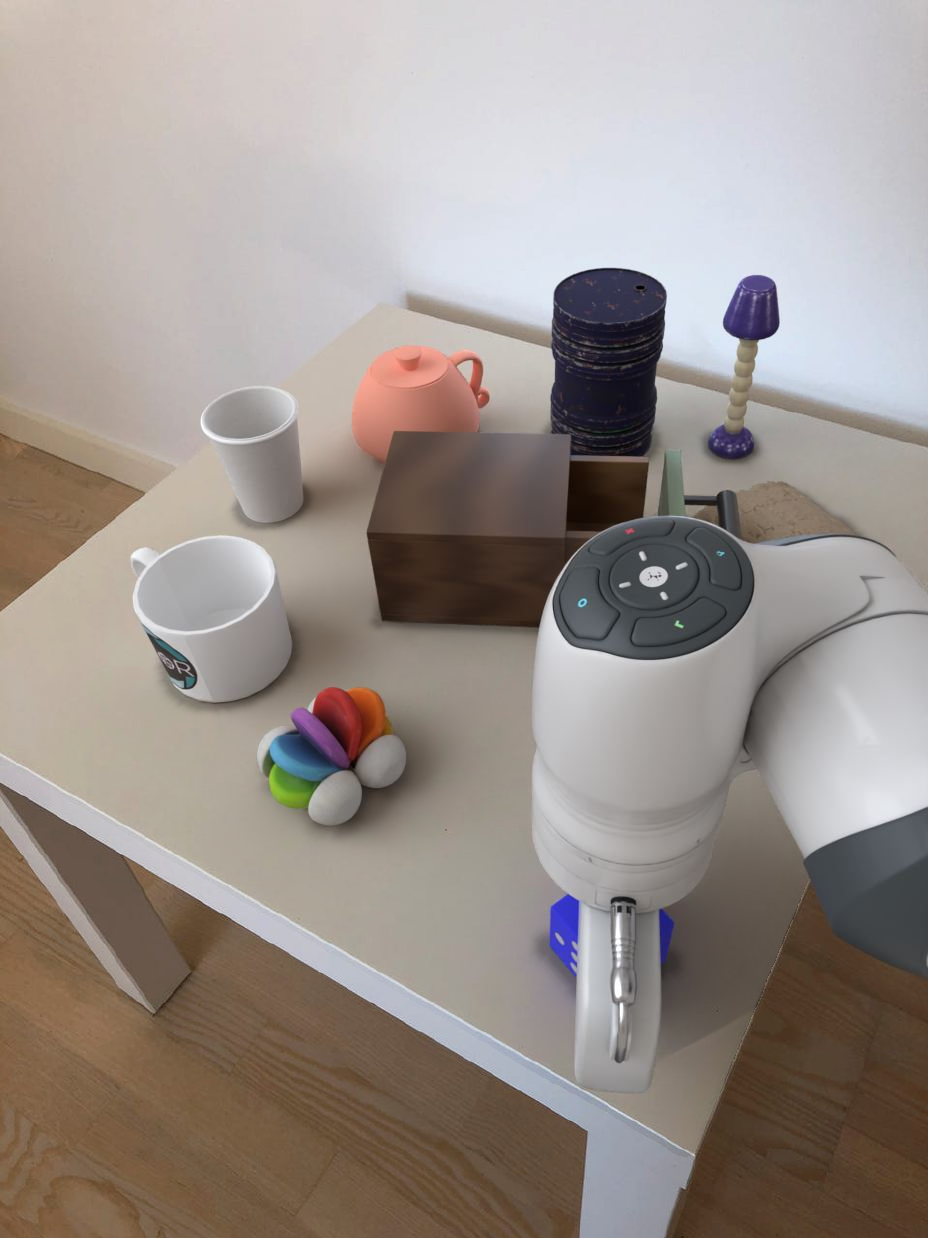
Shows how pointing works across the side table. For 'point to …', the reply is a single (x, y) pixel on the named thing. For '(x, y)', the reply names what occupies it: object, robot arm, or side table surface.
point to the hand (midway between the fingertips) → (607, 939)
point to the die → (566, 931)
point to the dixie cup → (258, 449)
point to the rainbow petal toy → (332, 754)
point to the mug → (213, 616)
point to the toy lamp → (745, 358)
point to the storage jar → (606, 360)
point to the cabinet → (470, 526)
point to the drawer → (630, 496)
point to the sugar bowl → (416, 396)
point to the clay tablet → (777, 514)
